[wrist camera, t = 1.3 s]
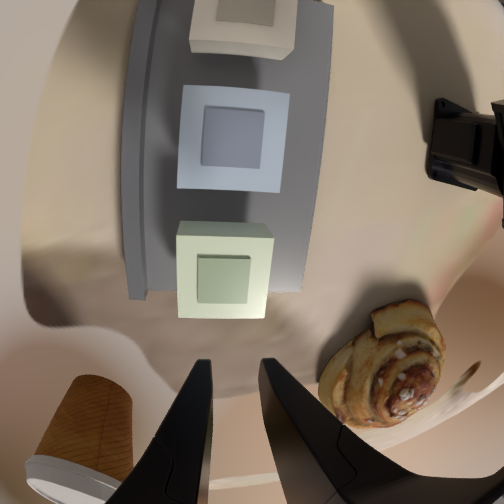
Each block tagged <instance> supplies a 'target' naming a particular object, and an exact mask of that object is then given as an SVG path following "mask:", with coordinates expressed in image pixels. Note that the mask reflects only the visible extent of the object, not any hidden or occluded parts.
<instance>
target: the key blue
mask: <svg viewBox="0 0 504 504" xmlns="http://www.w3.org/2000/svg"><path fill="white" fill-rule="evenodd" d="M289 99H290V94H288V93H281V92H274V91H266V90H257V89H247V88H236V87H222V86H201V85H183V95H182V107H181V119H180V133H179V150H178V171H177V188H185V189H216V190H238V191H255V192H271V193H280V186H281V177H282V167H283V158H284V149H285V139H286V129H287V119H288V109H289Z"/></svg>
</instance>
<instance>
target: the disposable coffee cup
mask: <svg viewBox="0 0 504 504" xmlns="http://www.w3.org/2000/svg"><path fill="white" fill-rule="evenodd" d="M25 469H26V470H27V483H28V484H29V486H31V487H32V488H33V489H34V490H35V491H36V492H38V493H39V494H41V495H42V496H44V497H45V498H47V499H49V500H51V501H53V502H55V503H56V504H104V503H105V502H106V501H107V500H108V499H109V498H110V497H111V495H112V494H113V493H114V492H115V491H116V489H117V488H118V487H119V486H120V485H121V483H122V482H123V481H124V480H125V478H126V477H127V476H128V475H129V473H130V472H131V471H132V470H133V450H132V399H131V397H130V395H129V394H128V393H127V392H126V391H125V390H124V389H123V388H122V387H121V386H119V385H118V384H116V383H115V382H113V381H111V380H109V379H106V378H104V377H100V376H96V375H81V376H78V377H76V378H75V379H74V380H73V382H72V384H71V386H70V388H69V389H68V391H67V393H66V395H65V396H64V398H63V400H62V402H61V404H60V406H59V407H58V409H57V411H56V413H55V415H54V417H53V418H52V420H51V422H50V424H49V426H48V428H47V430H46V432H45V433H44V436H43V438H42V440H41V442H40V444H39V446H38V448H37V450H36V452H35V454H34V455H33V456H31V457H30V459H29V460H27V461H26V462H25Z"/></svg>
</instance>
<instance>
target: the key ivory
mask: <svg viewBox="0 0 504 504" xmlns="http://www.w3.org/2000/svg"><path fill="white" fill-rule="evenodd" d="M297 4H298V0H195V3H194V9H193V15H192V22H191V28H190V35H189V43H190V48H191V52H192V53H216V54H231V55H243V56H252V57H261V58H269V59H276V60H283V59H284V58H285V57H286V56H287V55H288V54H290V53H291V52H292V51H293V50H294V43H295V30H296V17H297Z"/></svg>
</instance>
